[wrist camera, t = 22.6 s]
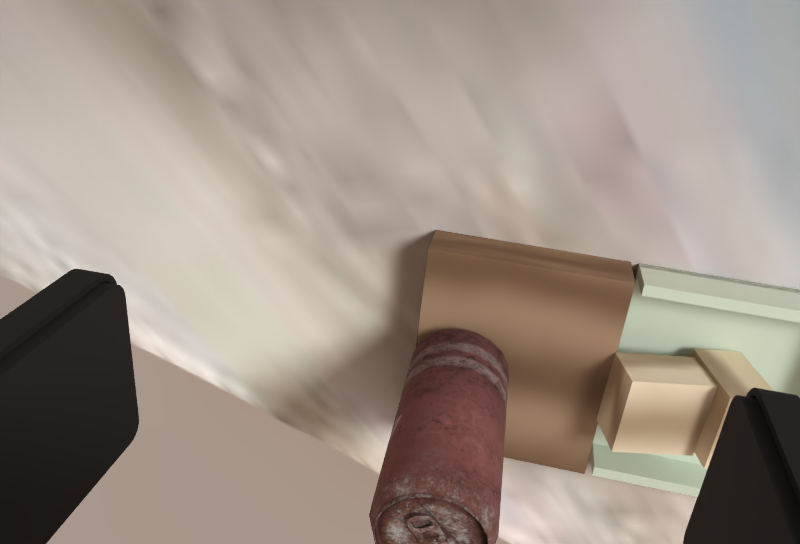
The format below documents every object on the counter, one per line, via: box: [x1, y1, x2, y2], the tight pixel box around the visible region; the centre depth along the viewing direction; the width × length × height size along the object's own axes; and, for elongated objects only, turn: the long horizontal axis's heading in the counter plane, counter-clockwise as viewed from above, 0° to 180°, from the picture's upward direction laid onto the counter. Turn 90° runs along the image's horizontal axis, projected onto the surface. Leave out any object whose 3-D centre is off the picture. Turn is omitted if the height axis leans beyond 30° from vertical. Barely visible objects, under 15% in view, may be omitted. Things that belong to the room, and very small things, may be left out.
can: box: [369, 329, 509, 544], centre depth 39 cm, size 6×6×14 cm
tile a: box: [597, 352, 718, 456], centre depth 43 cm, size 5×5×3 cm
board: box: [416, 230, 635, 474], centre depth 46 cm, size 14×12×3 cm
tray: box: [591, 264, 800, 497], centre depth 44 cm, size 14×12×3 cm
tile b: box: [691, 348, 774, 469], centre depth 43 cm, size 5×5×3 cm
